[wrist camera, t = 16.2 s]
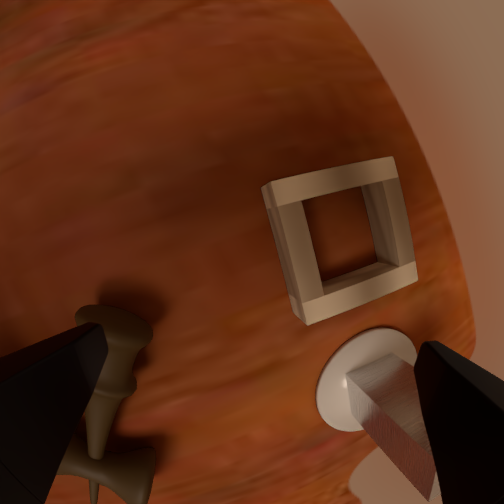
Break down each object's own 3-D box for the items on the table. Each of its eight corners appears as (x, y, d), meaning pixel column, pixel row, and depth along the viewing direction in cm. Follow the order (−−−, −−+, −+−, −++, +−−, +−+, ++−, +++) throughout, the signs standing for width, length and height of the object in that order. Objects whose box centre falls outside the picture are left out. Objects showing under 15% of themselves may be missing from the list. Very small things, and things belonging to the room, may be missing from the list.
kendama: (192, 324, 21) (147, 499, 21) (69, 282, 20) (56, 467, 20) (188, 355, 15) (141, 542, 15) (29, 297, 14) (37, 503, 14)
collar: (293, 312, 22) (307, 325, 19) (260, 187, 20) (270, 181, 18) (395, 274, 23) (417, 280, 20) (371, 163, 22) (393, 155, 19)
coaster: (374, 434, 24) (377, 438, 24) (292, 414, 22) (294, 418, 22) (429, 348, 24) (433, 350, 24) (356, 309, 22) (360, 311, 22)
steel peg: (351, 414, 23) (428, 502, 11) (345, 373, 22) (437, 462, 10) (394, 392, 23) (480, 463, 12) (391, 352, 23) (493, 417, 11)
